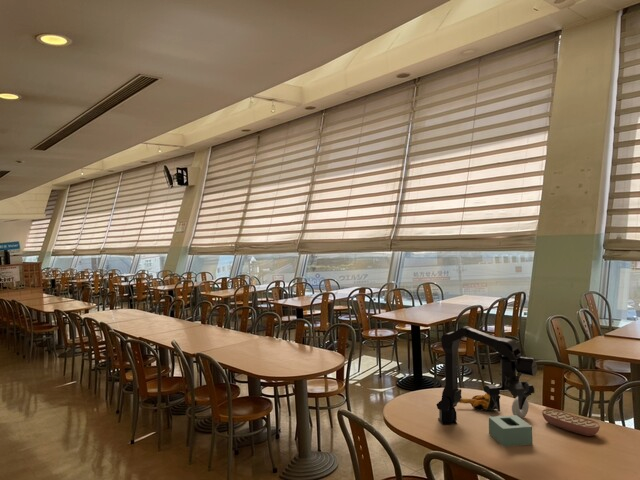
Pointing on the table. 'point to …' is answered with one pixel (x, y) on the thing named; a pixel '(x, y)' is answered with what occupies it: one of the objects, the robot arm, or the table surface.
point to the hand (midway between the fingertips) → (509, 410)
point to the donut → (517, 411)
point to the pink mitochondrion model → (571, 422)
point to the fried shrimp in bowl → (481, 402)
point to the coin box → (510, 430)
